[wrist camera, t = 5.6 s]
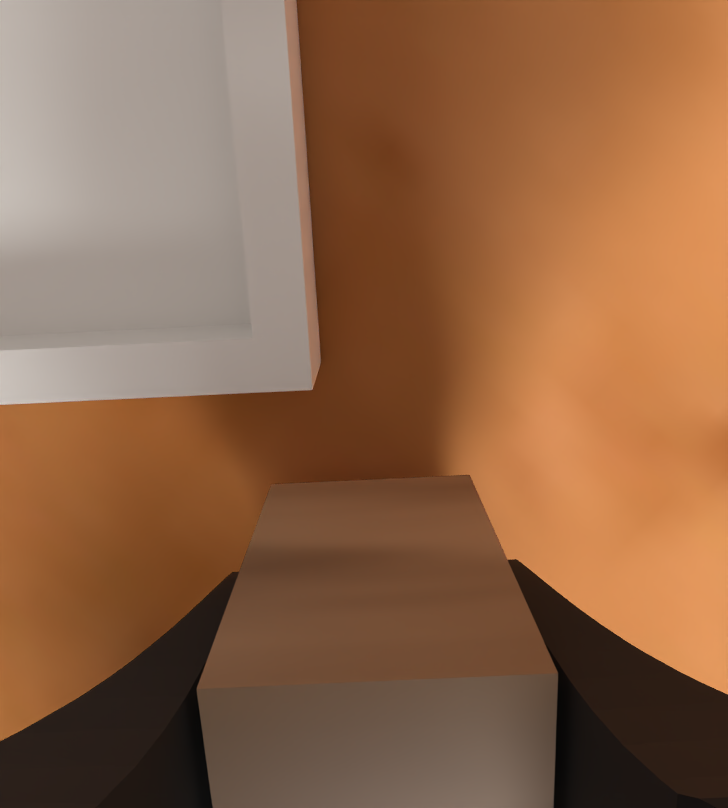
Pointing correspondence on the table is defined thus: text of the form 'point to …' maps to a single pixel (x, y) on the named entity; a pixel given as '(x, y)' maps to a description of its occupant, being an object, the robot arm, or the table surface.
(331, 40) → the table surface
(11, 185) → the white tray
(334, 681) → the brown rectangular block
